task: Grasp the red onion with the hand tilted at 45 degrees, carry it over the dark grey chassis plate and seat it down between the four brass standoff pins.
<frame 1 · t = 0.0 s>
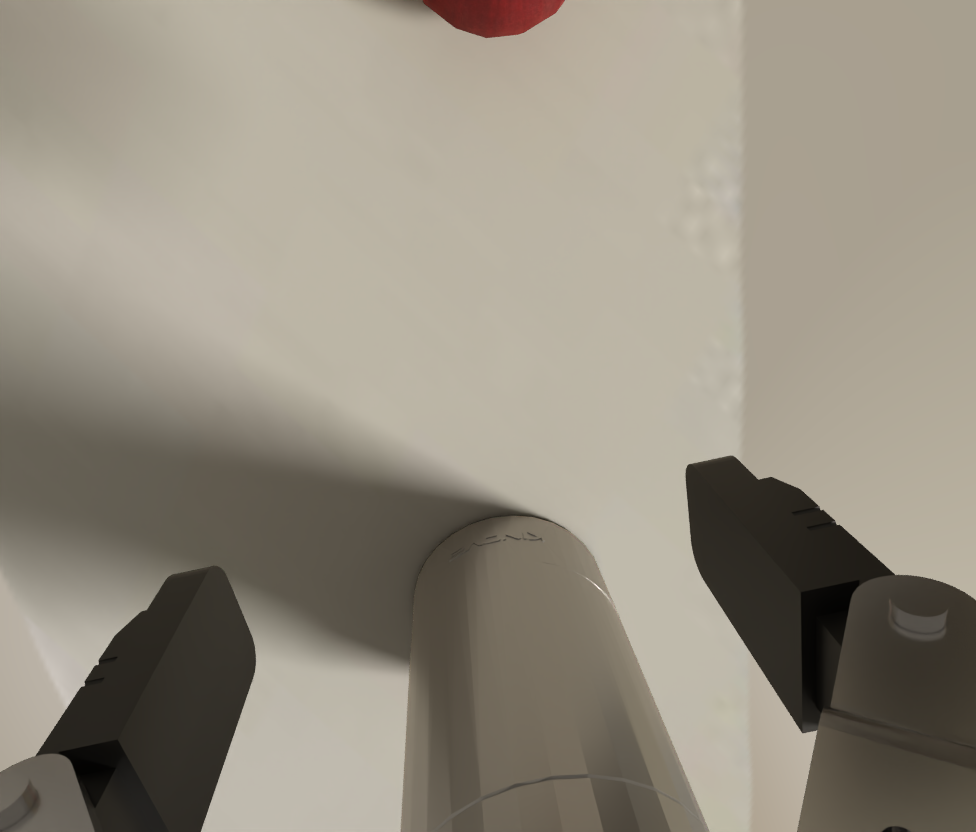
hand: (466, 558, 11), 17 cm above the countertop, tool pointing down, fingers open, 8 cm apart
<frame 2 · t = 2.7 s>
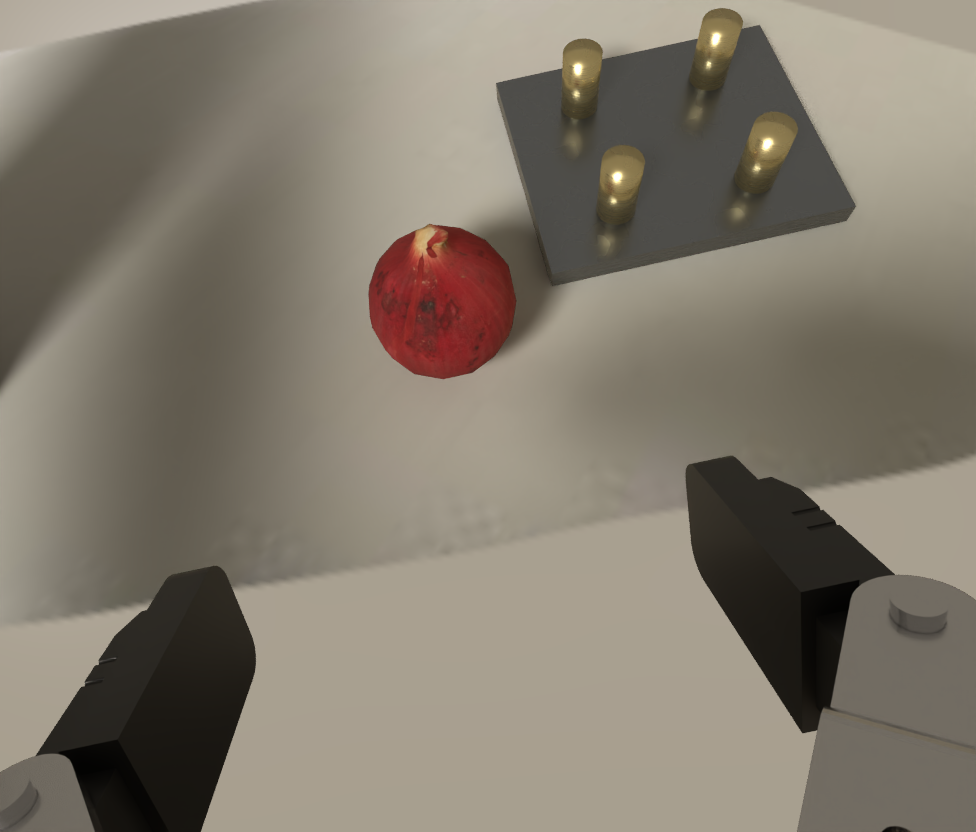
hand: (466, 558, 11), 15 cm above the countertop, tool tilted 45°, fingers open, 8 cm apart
onion: (454, 349, 30), on the countertop
chassis: (659, 155, 33), on the countertop
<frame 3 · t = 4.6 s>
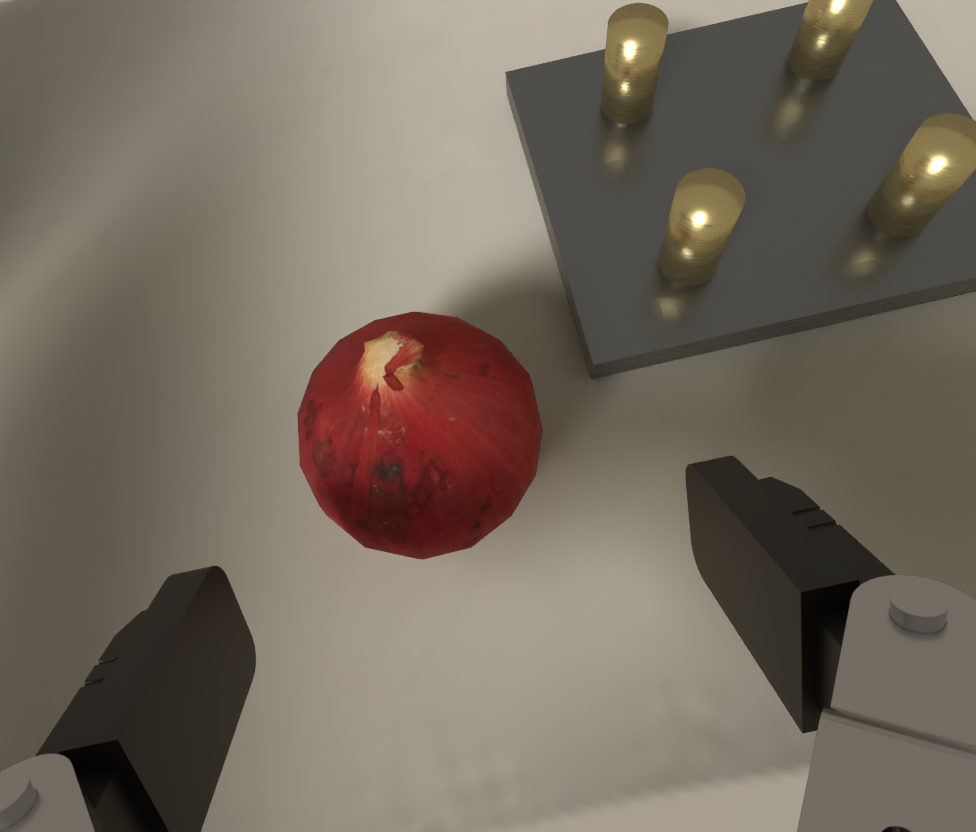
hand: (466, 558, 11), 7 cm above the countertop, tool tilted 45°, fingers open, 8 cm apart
onion: (445, 478, 20), on the countertop
chassis: (745, 176, 22), on the countertop
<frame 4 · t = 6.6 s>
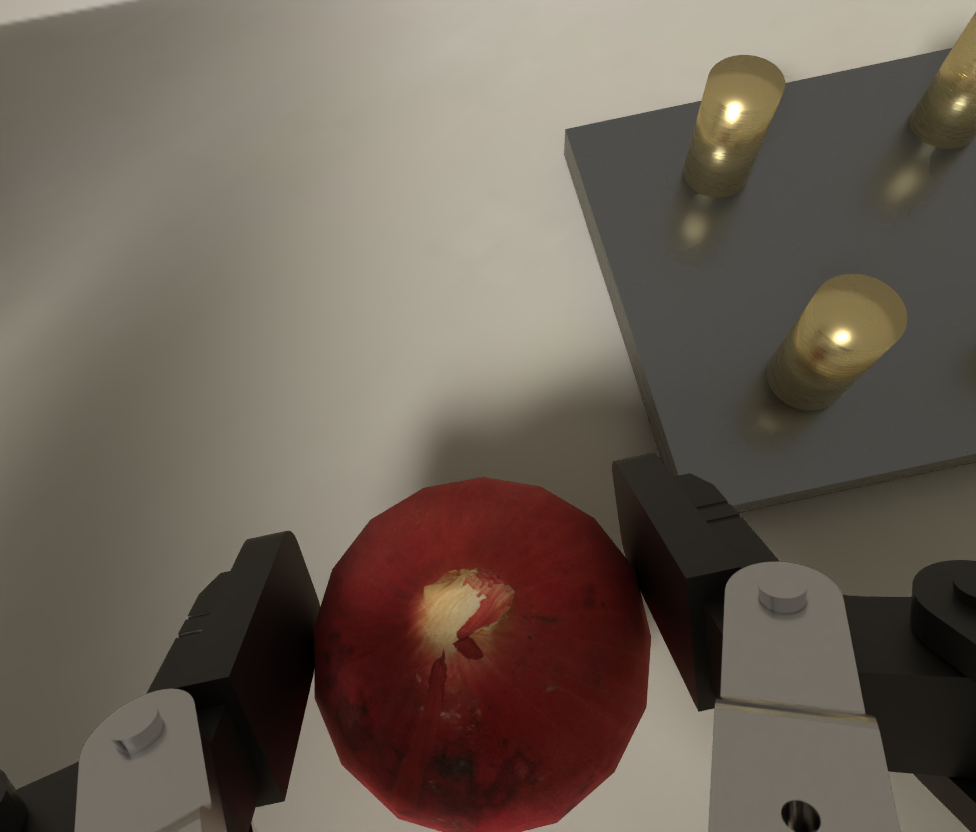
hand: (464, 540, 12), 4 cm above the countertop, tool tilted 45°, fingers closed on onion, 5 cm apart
onion: (497, 654, 15), on the countertop, touching gripper
chassis: (862, 263, 18), on the countertop
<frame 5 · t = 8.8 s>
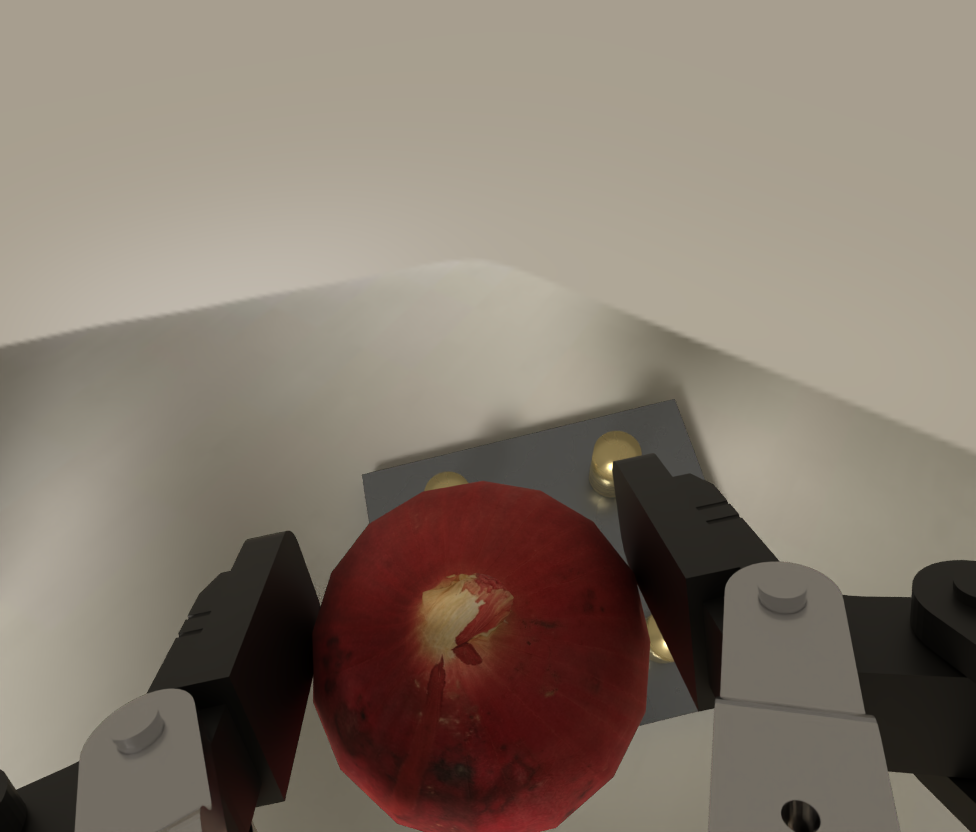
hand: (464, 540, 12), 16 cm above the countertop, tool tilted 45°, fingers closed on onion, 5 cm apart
onion: (496, 657, 15), point 12 cm above the countertop, touching gripper
chassis: (554, 576, 27), on the countertop
when the fingers open (7 cm above the countertop, at t = 11.4 s): onion drops 1 cm, resting on chassis.
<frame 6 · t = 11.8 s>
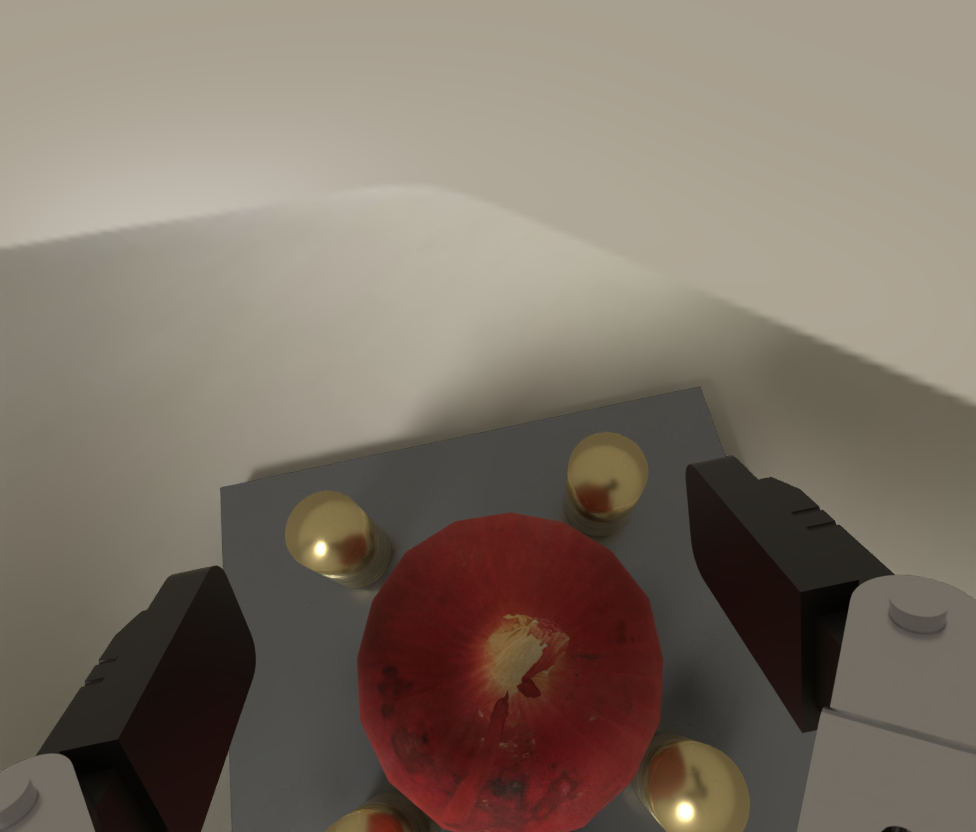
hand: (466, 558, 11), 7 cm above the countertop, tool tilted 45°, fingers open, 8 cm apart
onion: (504, 663, 16), point 1 cm above the countertop, touching chassis
chassis: (504, 658, 17), on the countertop
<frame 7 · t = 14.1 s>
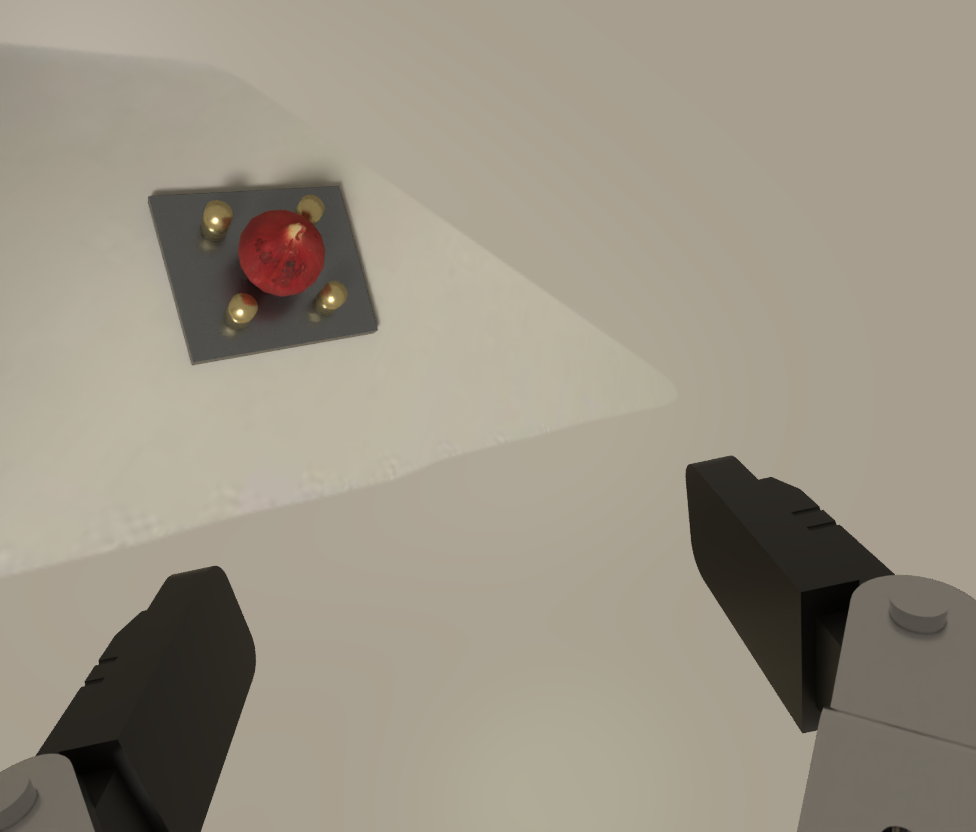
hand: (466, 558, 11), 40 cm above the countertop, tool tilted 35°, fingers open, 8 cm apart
onion: (271, 271, 49), point 1 cm above the countertop, touching chassis
chassis: (268, 272, 50), on the countertop
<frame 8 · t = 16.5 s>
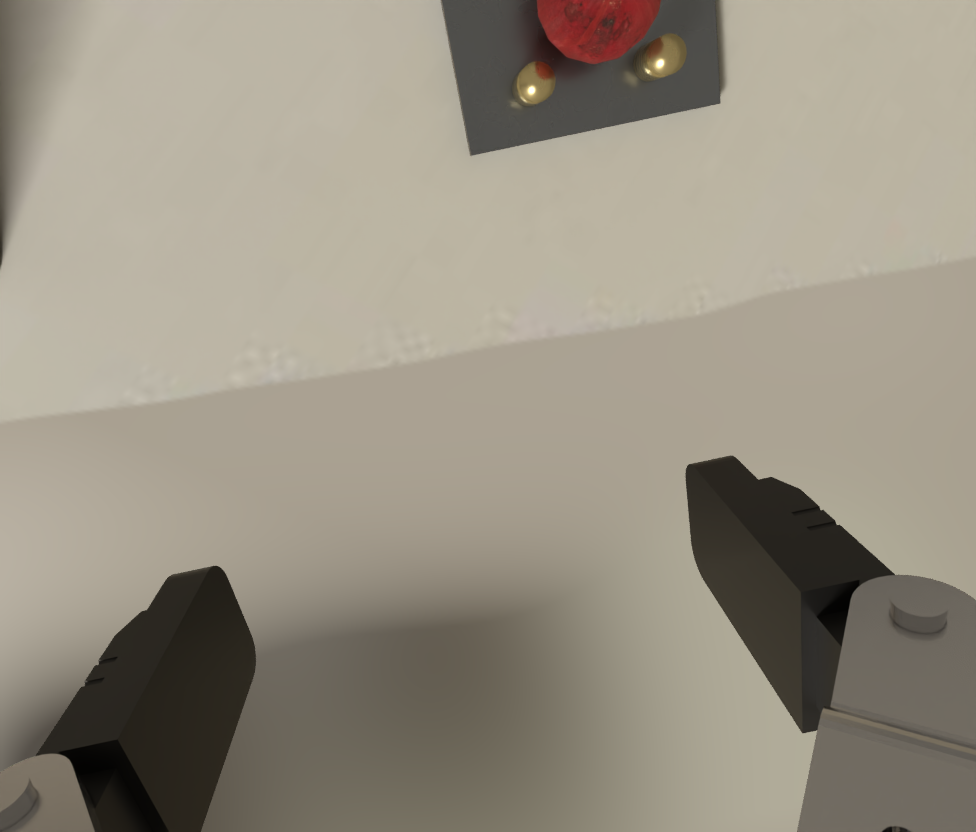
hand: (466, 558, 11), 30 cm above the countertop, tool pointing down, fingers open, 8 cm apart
onion: (580, 9, 34), point 1 cm above the countertop, touching chassis
chassis: (576, 8, 35), on the countertop
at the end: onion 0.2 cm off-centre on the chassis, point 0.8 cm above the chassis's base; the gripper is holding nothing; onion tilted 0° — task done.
